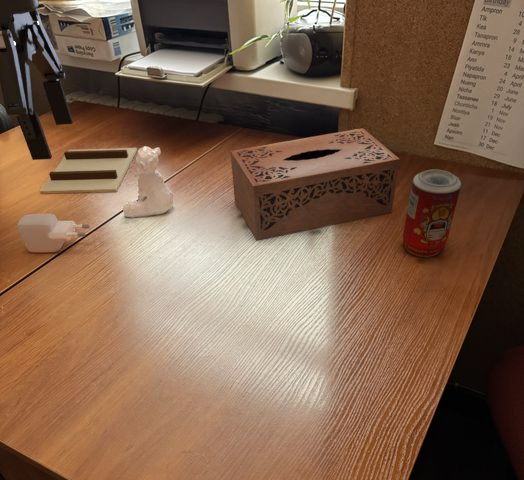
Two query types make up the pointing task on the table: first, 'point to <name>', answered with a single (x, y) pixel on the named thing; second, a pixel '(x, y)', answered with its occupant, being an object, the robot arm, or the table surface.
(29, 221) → the power adapter
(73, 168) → the slot mat
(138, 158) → the sitting furry creature
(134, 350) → the table surface
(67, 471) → the table surface
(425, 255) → the red snack canister
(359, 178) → the tissue box cover
